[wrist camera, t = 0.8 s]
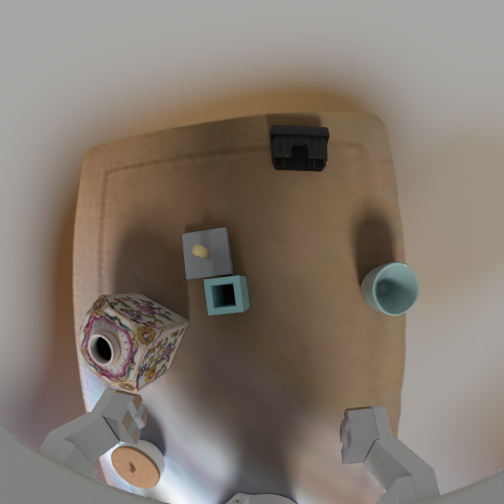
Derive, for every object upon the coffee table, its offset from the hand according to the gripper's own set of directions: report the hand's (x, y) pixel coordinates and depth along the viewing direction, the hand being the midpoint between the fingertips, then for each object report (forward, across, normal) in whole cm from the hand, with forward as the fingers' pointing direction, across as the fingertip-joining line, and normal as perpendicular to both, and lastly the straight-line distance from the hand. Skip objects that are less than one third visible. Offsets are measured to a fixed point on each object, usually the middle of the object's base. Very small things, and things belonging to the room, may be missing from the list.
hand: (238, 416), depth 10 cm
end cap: (+50, +4, +7) cm, 50 cm away
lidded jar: (+20, -26, -48) cm, 58 cm away
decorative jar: (+34, -23, -23) cm, 47 cm away
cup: (+38, +18, -15) cm, 45 cm away
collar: (+37, -8, -16) cm, 41 cm away
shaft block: (+40, -12, -10) cm, 43 cm away
